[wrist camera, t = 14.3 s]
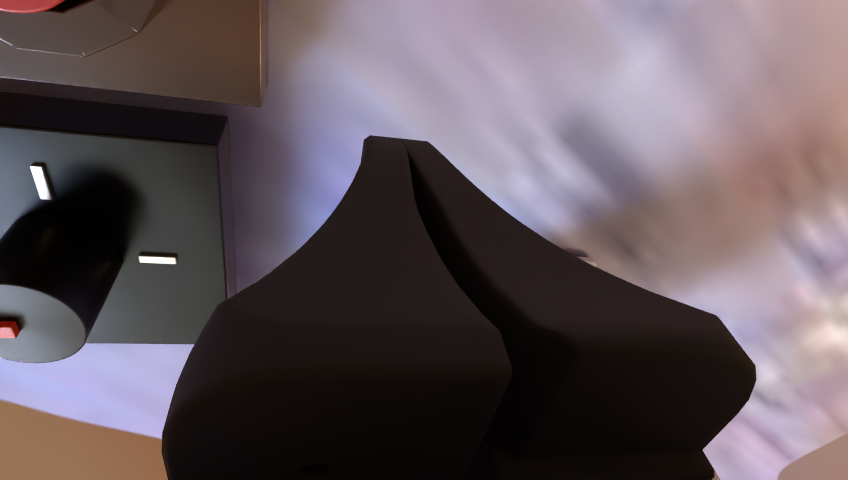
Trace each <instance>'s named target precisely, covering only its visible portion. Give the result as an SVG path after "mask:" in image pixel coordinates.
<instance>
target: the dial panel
mask: <svg viewBox="0 0 848 480" xmlns="http://www.w3.org/2000/svg"><path fill="white" fill-rule="evenodd" d="M39 214H55V215H63V216H68V217H71V218H75V219H78V220H81V221H83V222H85V223H88V224H90V225H92V226H93V227H95V228H97V229H98V230H100V231H101V232H102V233H104V234H105V235H106V236H107V237H108V238H109V239H110V240H111V241H112V242H113V244H114V245H115V246H116V248H117V250H118V252H119V255H120V259H121V268H120V272H119V274H118V276H117V278H116V280H115V282H114V284H113V286H112V288H111V290H110V292H109V295H108V297H107V299H106V301H105V303H104V305H103V307H102V309H101V311H100V313H99V315H98V317H97V320H96V322H95V324H94V326H93V328H92V330H91V332H90V334H89V336H88V338H87V340H86V342H85V343H134V344H195V343H196V341H197V339H198V337H199V335H200V333H201V332H202V330H203V328H204V327H205V325H206V323H207V322H208V320H209V318H210V317H211V315H212V313H213V312H214V310H215V308H216V307H217V305H218V304H220V303H221V302H223V301H224V300H226V299H228V298H230V297H232V296H234V295H235V294H237V283H236V262H235V242H234V222H233V201H232V181H231V161H230V140H229V120H228V117H227V116H219V115H209V114H200V113H191V112H182V111H172V110H163V109H154V108H145V107H135V106H126V105H117V104H107V103H98V102H89V101H80V100H70V99H61V98H52V97H43V96H33V95H24V94H15V93H6V92H0V239H1V237H2V236H3V235H4V234H5V232H6V231H7V230H8V229H9V228H10V227H11V226H12V225H13V224H14V223H15V222H17V221H18V220H21V219H23V218H25V217H29V216H33V215H39Z"/></svg>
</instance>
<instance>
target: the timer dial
mask: <svg viewBox="0 0 848 480" xmlns="http://www.w3.org/2000/svg"><path fill="white" fill-rule="evenodd" d="M120 268H121V259H120V255H119V252H118V250H117V248H116V246H115V245H114V244H113V242H112V241H111V240H110V239H109V238H108V237H107V236H106V235H105V234H104V233H102V232H101V231H100V230H98V229H97V228H95V227H93V226H92V225H90V224H88V223H85V222H83V221H81V220H78V219H75V218H71V217H68V216H63V215H55V214H39V215H33V216H29V217H25V218H23V219H21V220H18V221H17V222H15V223H14V224H13V225H12V226H11V227H10V228H9V229H8V230H7V231H6V232H5V234H4V235H3V236H2V237H1V239H0V358H3V359H7V360H12V361H18V362H26V363H46V362H53V361H58V360H62V359H65V358H67V357H70V356H72V355H73V354H75V353H76V352H78V351H79V350H80V349H81V348H82V347H83V346H84V344H85V342H86V340H87V338H88V336H89V334H90V332H91V330H92V328H93V326H94V324H95V322H96V320H97V317H98V315H99V313H100V311H101V309H102V307H103V305H104V303H105V301H106V299H107V297H108V295H109V292H110V290H111V288H112V286H113V284H114V282H115V280H116V278H117V276H118V274H119V272H120Z"/></svg>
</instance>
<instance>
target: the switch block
mask: <svg viewBox="0 0 848 480" xmlns="http://www.w3.org/2000/svg"><path fill="white" fill-rule="evenodd" d="M0 78H8V79H17V80H26V81H35V82H43V83H52V84H61V85H70V86H79V87H87V88H96V89H105V90H114V91H123V92H131V93H140V94H149V95H158V96H167V97H175V98H184V99H193V100H202V101H211V102H219V103H228V104H237V105H246V106H255V107H262V104H263V100H264V96H265V92H266V88H267V84H268V0H65V1H63V2H61V3H60V4H58V5H56V6H55V7H53V8H51V9H48V10H45V11H42V12H36V13H11V12H6V11H1V10H0Z"/></svg>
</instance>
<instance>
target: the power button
mask: <svg viewBox="0 0 848 480" xmlns="http://www.w3.org/2000/svg"><path fill="white" fill-rule="evenodd" d="M63 1H65V0H0V10H1V11H6V12H11V13H36V12H42V11H45V10H48V9H51V8H53V7H55V6H56V5H58V4H60V3H61V2H63Z"/></svg>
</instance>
